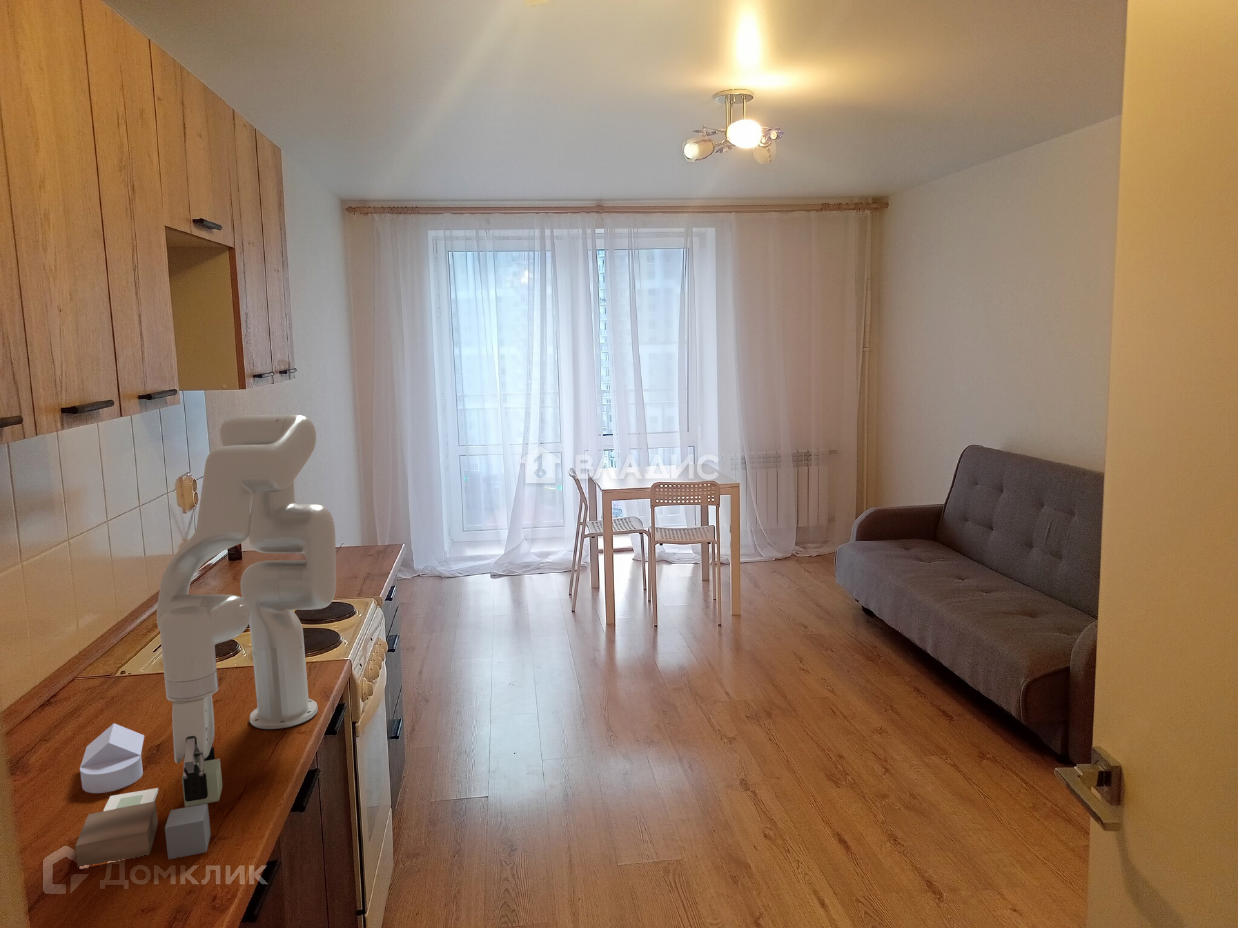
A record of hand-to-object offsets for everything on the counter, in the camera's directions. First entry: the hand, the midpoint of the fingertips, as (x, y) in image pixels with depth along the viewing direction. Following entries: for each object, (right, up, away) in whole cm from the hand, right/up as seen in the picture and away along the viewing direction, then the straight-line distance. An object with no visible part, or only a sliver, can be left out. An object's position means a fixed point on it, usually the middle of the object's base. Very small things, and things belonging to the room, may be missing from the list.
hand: (201, 784), depth 140 cm
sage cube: (0, -2, +1) cm, 2 cm away
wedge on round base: (-20, -2, +9) cm, 22 cm away
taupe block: (-6, -5, -13) cm, 15 cm away
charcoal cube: (+5, -4, -13) cm, 15 cm away
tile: (-11, -3, -2) cm, 11 cm away
